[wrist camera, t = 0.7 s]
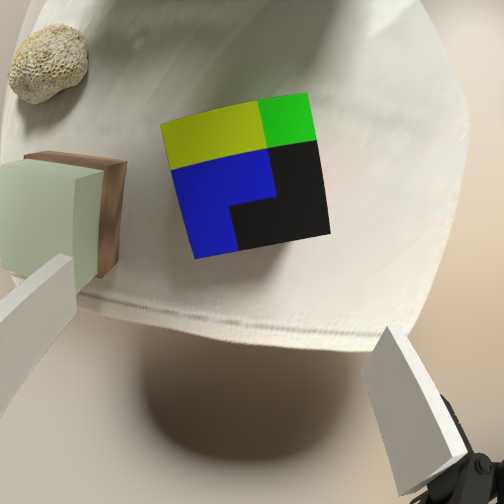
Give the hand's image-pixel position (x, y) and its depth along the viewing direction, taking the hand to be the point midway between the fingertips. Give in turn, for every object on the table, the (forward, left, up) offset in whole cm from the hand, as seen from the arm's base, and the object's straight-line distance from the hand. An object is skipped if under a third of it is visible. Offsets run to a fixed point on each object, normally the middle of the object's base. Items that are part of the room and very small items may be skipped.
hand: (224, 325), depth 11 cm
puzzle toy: (-4, 0, -21) cm, 21 cm away
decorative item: (-13, -26, -21) cm, 36 cm away
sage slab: (+4, -19, -16) cm, 25 cm away
